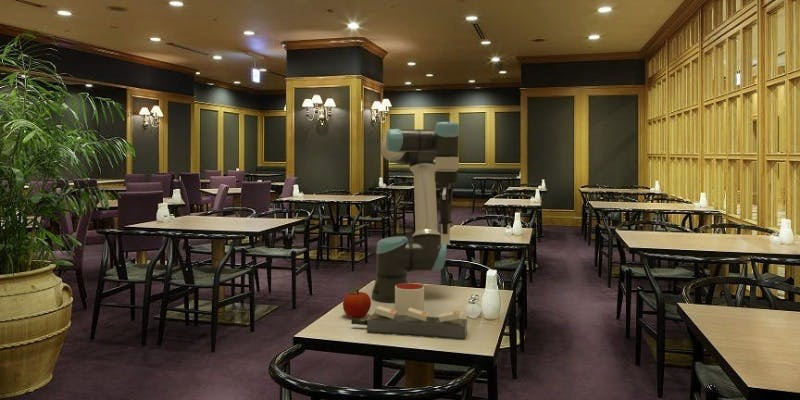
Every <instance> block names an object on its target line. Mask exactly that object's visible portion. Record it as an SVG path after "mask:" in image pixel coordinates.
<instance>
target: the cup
mask: <svg viewBox="0 0 800 400" xmlns="http://www.w3.org/2000/svg"><path fill="white" fill-rule="evenodd" d="M409 308H414V309H417V310H420V311H423V312H425V286H424V285H423V284H419V283H411V282H410V283H409V282H408V283H404V284H398V285H396V286H395V302H394V310H395V311H397V313H396V315H407V312H408V309H409Z"/></svg>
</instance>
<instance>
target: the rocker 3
mask: <svg viewBox="0 0 800 400" xmlns="http://www.w3.org/2000/svg"><path fill="white" fill-rule="evenodd" d="M438 317H439V320H440V322H444V321H449V320H455V319H461V312H460V310H453V311H450V312H443V313H439V316H438Z"/></svg>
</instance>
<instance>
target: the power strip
mask: <svg viewBox="0 0 800 400" xmlns="http://www.w3.org/2000/svg"><path fill="white" fill-rule="evenodd" d="M351 325H361V326H366V333H367V334H378V333H381V334H382V335H392V334H396V335H395V336H406V335H411V336H410V337H420V336H423V337H422V338H434V337H438V338H437V339H447V340H449V339H450V340H463V341H465V340H466V337H467V335H468V334H467V333H468V319H467V318H459V319H455V320H449V321H444V322H440V320H439V316H436V317H435V316H427V319H426V321H423V320H420V319H417V318H414V317H411V316H408V315H396V316H395V317H394V319H392V318H388V317H385V316H382V315H379V314H376V313H375V312H373V313H372V314H371V315H370V316H369V318H368V319H359V318H352V319H351Z"/></svg>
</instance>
